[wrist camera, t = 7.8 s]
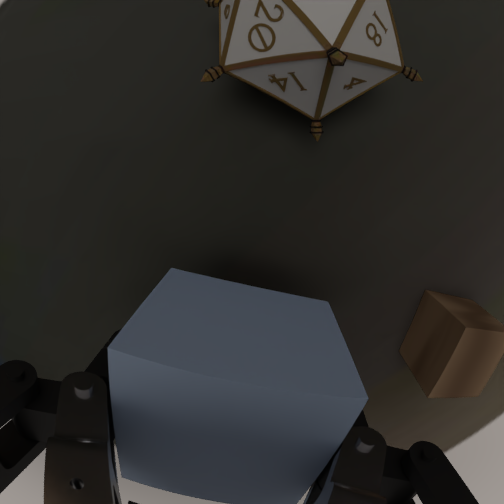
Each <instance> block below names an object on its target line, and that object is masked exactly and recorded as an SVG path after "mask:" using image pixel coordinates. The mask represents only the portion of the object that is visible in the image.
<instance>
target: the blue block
mask: <svg viewBox="0 0 504 504" xmlns="http://www.w3.org/2000/svg"><path fill="white" fill-rule="evenodd" d="M108 369H109V384H110V396H111V407H112V416H113V424H114V432H115V439H116V446H117V452H118V458H119V464H120V470H121V475H122V477H123V478H126V479H129V480H132V481H135V482H138V483H141V484H144V485H148V486H151V487H154V488H158V489H162V490H165V491H169V492H173V493H177V494H182V495H186V496H191V497H195V498H200V499H205V500H211V501H216V502H223V503H229V504H297V503H298V501H299V500H300V499H301V498H302V496H303V495H304V494H305V493H306V491H307V490H308V489H309V487H310V486H311V485H312V484H313V482H314V481H315V480H316V478H317V477H318V476H319V474H320V473H321V472H322V470H323V469H324V468H325V466H326V465H327V463H328V462H329V460H330V459H331V458H332V456H333V455H334V453H335V452H336V450H337V449H338V447H339V446H340V444H341V443H342V441H343V440H344V438H345V437H346V435H347V434H348V432H349V430H350V429H351V427H352V426H353V424H354V422H355V421H356V419H357V417H358V416H359V414H360V412H361V411H362V409H363V407H364V406H365V404H366V402H367V400H368V397H367V394H366V392H365V389H364V386H363V384H362V381H361V379H360V376H359V374H358V371H357V369H356V367H355V364H354V362H353V359H352V357H351V354H350V352H349V350H348V347H347V345H346V342H345V340H344V338H343V335H342V333H341V331H340V328H339V326H338V324H337V321H336V319H335V317H334V314H333V312H332V310H331V307H330V305H329V303H328V302H327V301H322V300H317V299H312V298H307V297H302V296H297V295H292V294H287V293H282V292H277V291H273V290H268V289H263V288H258V287H254V286H249V285H244V284H240V283H235V282H231V281H226V280H222V279H217V278H213V277H209V276H204V275H200V274H195V273H191V272H187V271H183V270H178V269H174V268H171V269H170V270H169V271H168V273H167V274H166V275H165V276H164V277H163V279H162V280H161V281H160V282H159V283H158V285H157V286H156V287H155V288H154V290H153V291H152V292H151V293H150V294H149V296H148V297H147V298H146V299H145V301H144V302H143V303H142V304H141V306H140V307H139V308H138V309H137V311H136V312H135V313H134V314H133V316H132V317H131V318H130V319H129V321H128V322H127V323H126V324H125V326H124V327H123V328H122V330H121V331H120V332H119V333H118V335H117V336H116V337H115V339H114V340H113V341H112V342H111V344H110V345H109V346H108Z"/></svg>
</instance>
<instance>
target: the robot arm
mask: <svg viewBox="0 0 504 504" xmlns="http://www.w3.org/2000/svg"><path fill="white" fill-rule="evenodd" d="M121 330H122V329H120V330H118V331H116V332H115V333H114V334H113V335H112V337H111V338H110V339H109V342H107V343H106V344H105V346H104V348H102V349H101V351H100V352H99V353H98V355H97V356H96V357H95V358H94V360H93V361H92V362H91V364H90V365H89V366H88V367H87V369H86V370H85V371H84V372H82V371H81V372H74V373H71V374H69V375H67V376H66V377H65V378H64V379H63V380H62V381H54V380H48V379H42V378H38V377H37V373H36V370H35V368H34V367H33V366H32V365H31V364H29V363H27V362H25V361H21V360H12V361H8V362H6V363H4V364H2V365H1V366H0V428H1V427H2V426H3V425H4V424H6V423H7V422H8V421H9V420H10V419H12V420H11V421H9V422H8V423H7V424H6V425H5V426H3V427H2V428H1V429H0V493H1V492H2V491H3V490H4V489H5V488H6V487H7V486H8V485H9V484H10V483H11V482H12V481H13V480H14V479H15V478H16V477H17V476H18V475H19V474H20V473H21V472H22V471H23V470H24V469H25V468H26V467H27V466H28V465H29V464H30V463H31V462H32V461H33V460H34V459H35V458H36V457H37V456H38V455H39V454H40V453H41V452H42V451H43V450H44V449H45V448H46V456H45V473H44V504H122V503H121V498H120V493H119V487H118V479H117V471H116V462H115V452H114V442H113V441H114V438H115V432H114V424H113V416H112V407H111V396H110V384H109V369H108V346H109V345H110V344H111V342H112V341H113V340H114V339H115V337H116V336H117V335H118V333H119V332H120V331H121ZM416 494H418V496H419V498H420V500H421V502H422V503H423V504H479V503H478V502H477V500H476V499H475V498H474V496H473V495H472V493H471V492H470V490H469V489H468V487H467V486H466V484H465V483H464V481H463V480H462V479H461V477H460V476H459V474H458V473H457V471H456V470H455V469H454V467H453V466H452V464H451V463H450V462H449V460H448V459H447V457H446V456H445V455H444V453H443V452H442V450H441V449H440V448H439V447H438V446H436V445H435V444H433V443H430V442H427V441H419V442H416V443H414V444H413V445H412V446H411V447H410V449H409V450H403V449H399V448H394V447H390V446H387V445H386V441H385V439H384V438H383V436H382V435H381V434H380V433H379V432H377V431H376V430H374V429H372V428H369V427H368V424H367V421H366V418H365V415H364V412H363V410H362V411H361V412H360V414H359V416H358V417H357V419H356V421H355V422H354V424H353V426H352V427H351V429H350V430H349V432H348V434H347V435H346V437H345V438H344V440H343V441H342V443H341V444H340V446H339V447H338V449H337V450H336V452H335V453H334V455H333V456H332V458H331V459H330V460H329V462H328V463H327V465H326V466H325V468H324V469H323V470H322V472H321V473H320V474H319V476H318V477H317V478H316V480H315V481H314V482H313V484H312V485H311V487H310V489H309V492H308V494H307V496H306V499H305V501H304V503H303V504H415V502H414V500H413V499H412V498H413V497H414V496H415V495H416ZM128 504H138V503H135V502H131V501H129V502H128Z"/></svg>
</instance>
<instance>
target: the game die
mask: <svg viewBox="0 0 504 504" xmlns="http://www.w3.org/2000/svg"><path fill="white" fill-rule="evenodd" d="M204 1H205V2H206V3H207V4H208V7H211V6H213V8H214V7H216V6H219V63H220V65H219V66H218V67H211V69H209V70H205V71H206V72H205V74H204V76H203V78H202V80H201V82H207V81H211V82H213V81H215V80H214V79H216V78H217V79H218V78H219V77H220V75H221V74H222V73H225V74H228V75H230V76H232V77H234V78H236V79H238V80H240V81H242V82H244V83H246V84H248V85H250V86H252V87H254V88H256V89H258V90H260V91H262V92H264V93H266V94H267V95H269V96H271V97H273V98H275V99H277V100H278V101H280V102H282V103H284V104H286V105H287V106H289V107H291V108H293V109H294V110H296V111H298V112H300V113H301V114H303V115H305V116H306V117H308V118H310V119H311V120H312V124H311V126H310V127H311V132H310V133H312V135H313V136H314V138H315V139H316V140H317V142H318V140H319V138H320V136H321V134H322V133H323V131H322V127H323V126H322V125H321V123H320V120H321V119H322V118H324V117H326V116H327V115H329V114H330V113H332V112H334V111H335V110H337V109H339V108H340V107H342V106H343V105H345V104H347V103H348V102H350V101H352V100H354V99H355V98H357V97H359V96H360V95H362V94H364V93H365V92H367V91H369V90H371V89H372V88H374V87H376V86H378V85H379V84H381V83H383V82H385V81H387V80H388V79H390V78H392V77H394V76H396V75H397V74H399V73H403V74H404V75H405V76H406V78H409V79H410V80H411V81H423V80H422V79H421V77H420V76H419V74H418V72H417V70H416V71H415V70H413V69H412V67H411V68H408V67H405V66H404V62H403V57H402V51H401V47H400V42H399V37H398V33H397V29H396V25H395V21H394V17H393V13H392V9H391V6H390V2H389V0H204Z"/></svg>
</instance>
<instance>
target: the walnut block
mask: <svg viewBox="0 0 504 504" xmlns="http://www.w3.org/2000/svg"><path fill="white" fill-rule="evenodd" d="M399 352H400V354H401V356H402V357H403V359H404V360H405V362H406V363H407V365H408V367H409V368H410V370H411V372H412V373H413V375H414V376H415V378H416V380H417V381H418V383H419V385H420V386H421V388H422V390H423V391H424V393H425V395H426V396H427V398H459V397H478V396H479V395H480V393H481V392H482V390H483V388H484V387H485V385H486V384H487V382H488V380H489V379H490V377H491V375H492V373H493V372H494V370H495V368H496V367H497V365H498V363H499V361H500V359H501V357H502V356H503V354H504V325H503V324H501V323H500V322H499V321H498V320H497V319H495V318H494V317H493V316H492V315H491V314H489V313H488V312H487V311H486V310H484V309H483V308H482V307H481V306H479V305H478V304H477V303H476V302H474V301H473V300H470V299H465V298H461V297H456V296H452V295H447V294H443V293H438V292H434V291H429V290H425V291H424V294H423V296H422V299H421V301H420V304H419V306H418V309H417V311H416V314H415V316H414V318H413V321H412V323H411V325H410V328H409V330H408V332H407V334H406V336H405V339H404V341H403V343H402V345H401V347H400V349H399Z"/></svg>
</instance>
